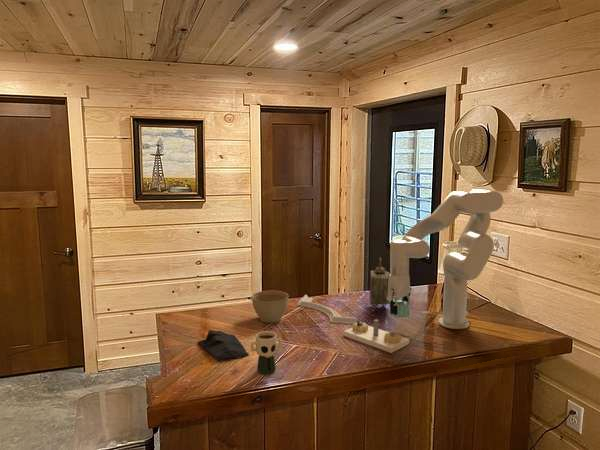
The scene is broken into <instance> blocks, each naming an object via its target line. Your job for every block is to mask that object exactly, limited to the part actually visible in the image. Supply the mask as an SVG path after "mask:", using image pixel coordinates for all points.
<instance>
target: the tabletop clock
mask: <svg viewBox="0 0 600 450" xmlns="http://www.w3.org/2000/svg"><path fill="white" fill-rule="evenodd" d="M389 275H390V272H389V271H386V268H385V267H383V266H382V258H381V257H380V256H379V263H378V266H377V267H375V269H374V270H370V280H369V281H370V283H369V284H370V285H369V302H370V303H369V304H370V305H373V306H374V308H373V309H372V310H371V311H372V313H376V312H377V311H376V309H377V307H378V305H382V307H381V308H382V310H386V308H387V307H386V306H387V305H390V304H389V302H388V300H387V296H388V281H389ZM385 305H386V306H385Z"/></svg>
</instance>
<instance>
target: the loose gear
mask: <svg viewBox="0 0 600 450" xmlns="http://www.w3.org/2000/svg"><path fill="white" fill-rule="evenodd" d="M393 301H394V302H395V300H393ZM396 305H397V315H394V314H391V313H390V316H392V317H393V318H396V319H404V318H408V317H410V301H409V302H408V301H404V300H402V299H398V301H397V304H396Z"/></svg>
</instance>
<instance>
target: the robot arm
mask: <svg viewBox="0 0 600 450" xmlns="http://www.w3.org/2000/svg"><path fill="white" fill-rule="evenodd" d="M503 205H504V198H503V195H502V193H500V192H498V191H496V190H491V189H485V188H474V189H471V190H470V191H469V192H466V191H460V190H454V191H452V192H450V193H449V194H448V195H447V196H446V198H445V199H444V200H443V201H442V202H441V203H440V204H439V205H438V206H437V208H436V209H434V211H433V212H432V213H431V214H430V215H429V216H427V217H425V218H423V219H422V220H420V221H419V222H418V223H416V224H414V225H413V226H412V227H411V228H409V230H408V231H407V232H406V233H405V234H404V235H403V237H402V239H394V240H392V241H391V242H390V244H389V246H390V248H389V259H390V260H389V265H390V266H389V268H390V269H389V271H390V272H389V273H390V275H389V281H388V296H387V300H388V302H389V304H388V305H389V313H390V315H391V314H394V315H397V305H396V304H397V301H398V300H404V301H408V302H409V303H410V296H411V291H412V289H413V288H412V287H411V283H410V282H411V281H410V280H411V279H410V259H423V258H425V257H428V255H429V254H430V252H431V251H430V250H431V249H430V248H431V247H430V245H429V243H428V242H426V241H425V240H424V239H425V238H426V237H427V236H430V235H431V234H434V233H438V232H442V231H445V230H447V229H449V227H450V226H451V225H452V223H454V221H455V220H456V219H457V218H458V217H459V216H460V215H461V213H463V214H466V215H467V214H469V219H468V222H466V225H465V227H464V229H463V231H462V233H461V234H460V236H459V237H458V240H457V246H458V247H459V249H460V250H461V251H463V252H465V253H467V254H464V253H461V252H458V251H452V252H449V253H447V254H446V255H445V257H444V258H443V260H442V267H443V268H442V269H443V276H444V280H443V281H444V282H443V283H444V284H443V297H442V300H443V301H442V316H441V317H440V318H439V319H438V325H440V326H442V327H444V328H447V329H453V330H463V329H467V328H468V327H469V326H470V323H469V321H468V320H467V318H466V317H467V316H469V311H467V304H468V303H467V302H468V301H467V298H468V281H474V280H476V279H478V277H479V276H480V275H481V273H482V271H483V270H484V268H485V266H486V265H487V263H488V261H489V260H490V257H491V256H492V253H493V251H494V245H495V244H494V240H493V238H492V237H491V236H490V235H489V234H487V232H488V230H489V228H490V225H491V219H492V218H491V213H493V212H497V211H499V210H500V209H502V207H503ZM394 301H395V302H394Z"/></svg>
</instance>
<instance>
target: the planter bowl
mask: <svg viewBox="0 0 600 450" xmlns="http://www.w3.org/2000/svg"><path fill="white" fill-rule="evenodd" d="M251 300H252V307H253V309H254V311H255V313H256V315H257V316H258V318H259V320H260V322H262V323H269V324H271V323H277V322H280V321H281V320H282V317H283V315H284V314H285V313H286V310H287V307H288V303H289V302H288V301H289V294H288V293H287V292H284V291H281V290H262V291H257V292H256V293H254V294H252V295H251Z"/></svg>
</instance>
